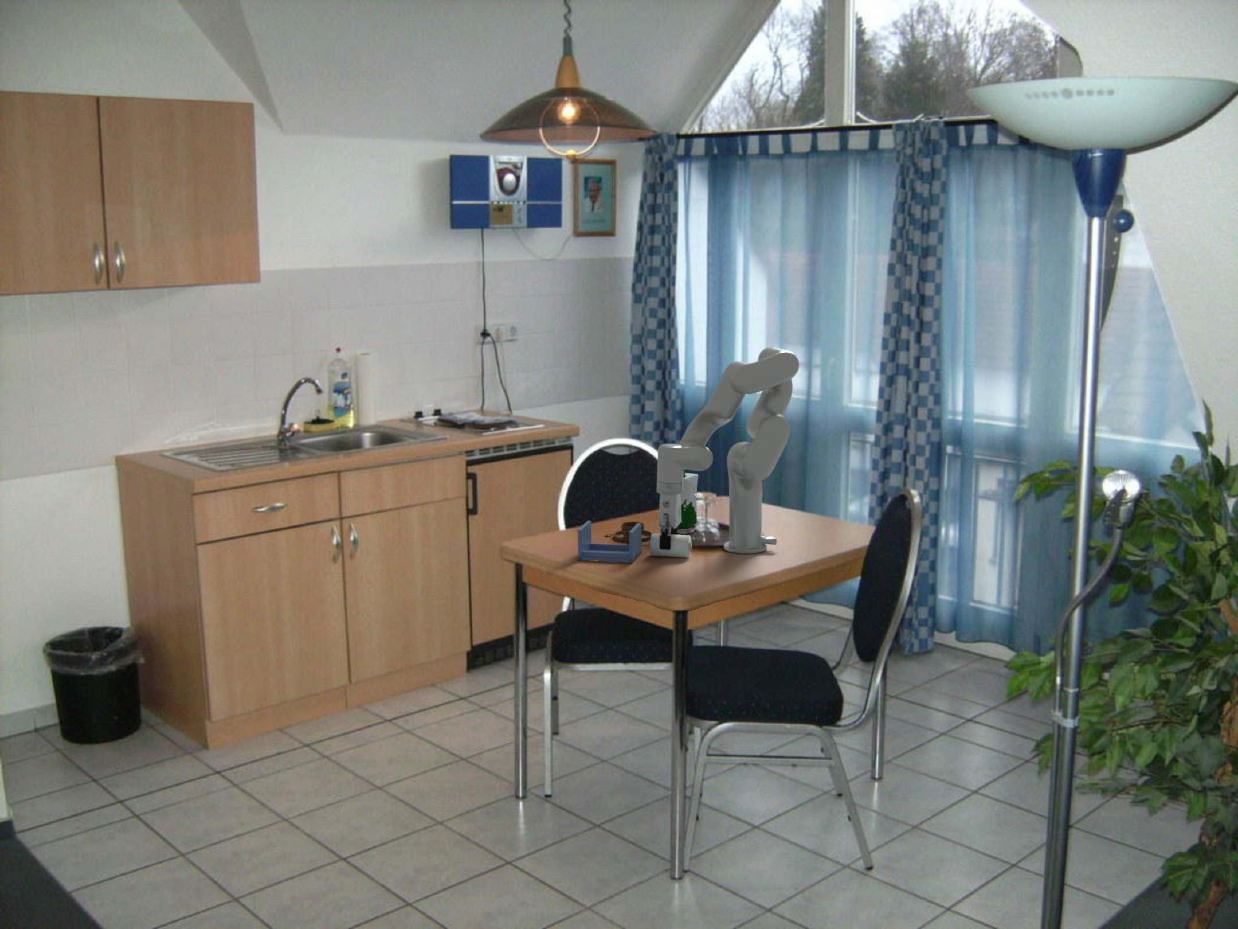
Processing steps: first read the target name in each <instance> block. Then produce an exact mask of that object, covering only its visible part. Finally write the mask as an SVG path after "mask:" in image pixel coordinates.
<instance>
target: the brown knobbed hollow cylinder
mask: <svg viewBox="0 0 1238 929" xmlns="http://www.w3.org/2000/svg"><path fill="white" fill-rule="evenodd" d="M637 523H641V543H642V542H643V543H644V542H646V541H650V540H651V536H652V534H653V533H652V532H651V531H650V530H645V524H644V523H643V522H641V521H626V522H622V523H621V527H620V528H621V530H618V531H615V532H614V533H611V534H605V535H604V537H606V538H609V536H610V537H612V536H613V538H614V540H615V541H618V542H622V543H626V545H629V532H630V531H631V530H632V529H633V528H634V526H635V525H636V524H637ZM608 535H609V536H608ZM622 535H623V537H619V536H622ZM643 535H645V536H646V537H642V536H643ZM648 545H649V544H648ZM648 545H647V544H645V546H648Z"/></svg>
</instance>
